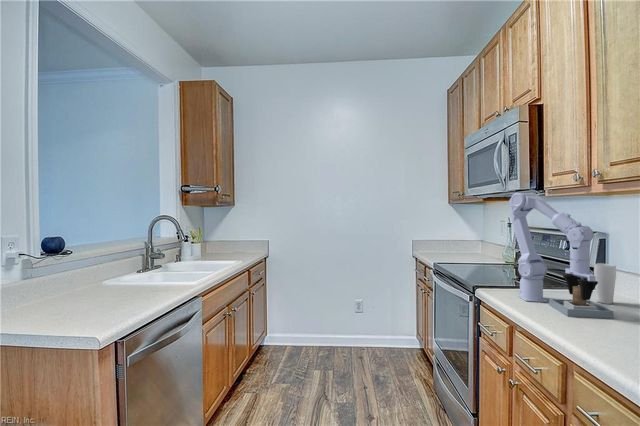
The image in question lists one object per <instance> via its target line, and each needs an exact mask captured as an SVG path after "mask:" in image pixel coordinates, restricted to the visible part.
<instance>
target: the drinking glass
mask: <svg viewBox="0 0 640 426" xmlns="http://www.w3.org/2000/svg"><path fill="white" fill-rule="evenodd" d="M593 275H594V276H596V281H597V282H598V284H597V285H596V286H595V288H594V289H595V300H596V302H597V303H598V304H604V305H612V304H614V297H615V296H614V295H615V289H616V279H617V266H616V265H615V264H611V263H609V264H608V263H594V265H593Z"/></svg>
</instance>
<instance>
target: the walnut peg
mask: <svg viewBox="0 0 640 426" xmlns="http://www.w3.org/2000/svg"><path fill="white" fill-rule="evenodd" d="M572 300H573V305H575V306H586V300H582V297H581V289H580V285H578V286H573V295H572Z"/></svg>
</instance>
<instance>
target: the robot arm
mask: <svg viewBox="0 0 640 426" xmlns="http://www.w3.org/2000/svg"><path fill="white" fill-rule="evenodd" d="M508 203H509V206H510V211H509V212H510V213H509V216H510V220H511V224H512V227H513V231H514V234H515V237H516V241H517V244H518V247H519V252H520V256H519V259H518V260H517V262H518V269H517V270H518V273H519V275H520V277H521V278H520V280H519V293H518V294H517V296H518V297H519V298H521V299H522V300H523V301H525V302H533V303H534V302H535V303H536V302H537V303H539V302H540V303H548V300H546V299H545V298H543V297H544V294H543V293H544V278H545V275H547V272H548V267H547V264H546V263H545V262H544V260H543V257H542V256H541V255H540V254H539V253H537V250H536V247H535V244H534V241H533V237H532V233H531V230H530V227H529V224H528V220H527V216H528V214H529V213H530V212H531V211H532V210H536V211H538V212H540V213H541V214H543V215H545V216H546V217H547V218H548V219H550V220H551V223H552V225H553V226H554V227H556V228H557V229H559V231H561V232H562V233H563V234H564V235H565V236H566V238H567V240H568V241H569V254H570V256H569V268H568V267H567V268H565V274H563V275H562V277H563V278H564V281H565V283H566V285H567V289H568V292H569V295H572V296H573V286H580V289H581V297H582V300H589V301H591V297H592V294H593V292H594V289H595V286H596V285H597V284H598V282H597V281H596V276H594V273H593V274H592V273H591V270H590V265H591V263H590V262H591V261H590V260H591V241H593V239H594V236H595V234H594V231H593V229H592V228H590V226H587V225H582V222H580V221H576V220H575V219H574V218H572V217H571V214H569V213H564V212H561V213H560V212H559V211H557V210H556V209H554V208H553V207H552V206H551V205H550V204H549V203H548V202H546V201H544V199H543V198H542V197H541V196H540V195H538V194H536V193H535V192H515V193H513V194H512V195H511V197H510V198H509V200H508Z"/></svg>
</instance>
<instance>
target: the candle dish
mask: <svg viewBox="0 0 640 426" xmlns="http://www.w3.org/2000/svg"><path fill="white" fill-rule="evenodd" d="M548 301H549V303H548V306H550V307H551V308H552V309H555V310H556V311H557V312H559V313H561V314H562V315H564V316H566V317H570V318H589V319H592V318H593V319H612V320H613V319H615V318H614V314H615V311H613V310H611V309H609V308H607V307H605V306H604V305H600V303H598V302H597V303H596V302H594V301H593V300H586V306H575V305H573V299H566V298H565V299H561V298H559V299H558V298H549V300H548Z"/></svg>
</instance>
